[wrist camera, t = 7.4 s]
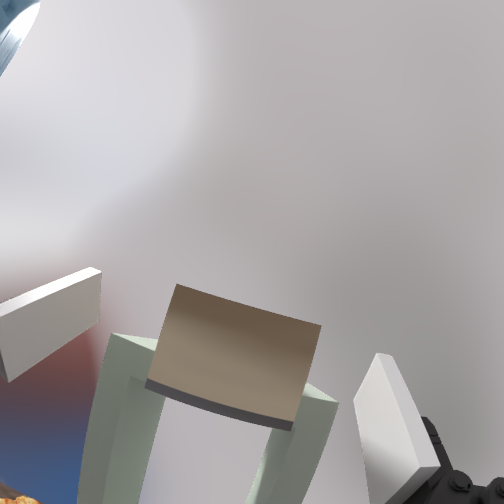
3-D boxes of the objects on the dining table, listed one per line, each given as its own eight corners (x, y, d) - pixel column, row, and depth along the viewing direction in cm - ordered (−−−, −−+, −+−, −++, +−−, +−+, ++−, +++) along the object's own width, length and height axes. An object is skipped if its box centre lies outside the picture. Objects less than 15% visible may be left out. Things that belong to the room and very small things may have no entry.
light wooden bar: (290, 431, 7) (321, 325, 8) (144, 387, 7) (176, 283, 8) (253, 366, 30) (261, 339, 30) (216, 355, 30) (224, 328, 31)
